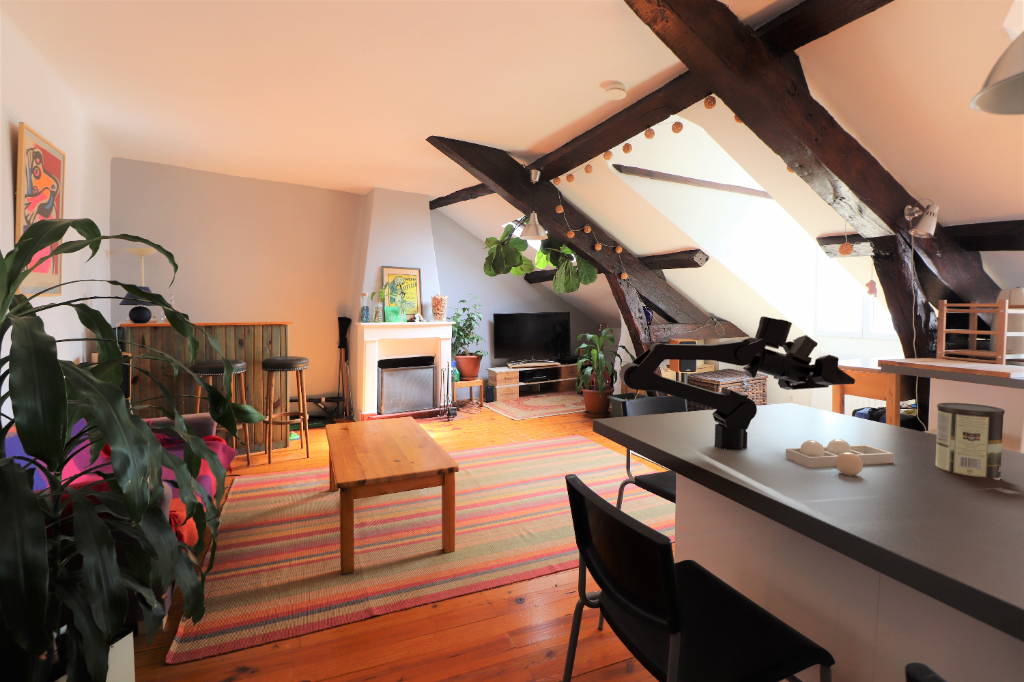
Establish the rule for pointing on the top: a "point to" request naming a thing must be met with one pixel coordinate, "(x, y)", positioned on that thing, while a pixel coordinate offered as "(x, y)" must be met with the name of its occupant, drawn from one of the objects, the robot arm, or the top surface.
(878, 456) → the carton
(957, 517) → the top surface
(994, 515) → the top surface
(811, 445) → the cream egg
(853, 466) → the brown egg
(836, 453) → the cream egg
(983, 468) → the coffee can
